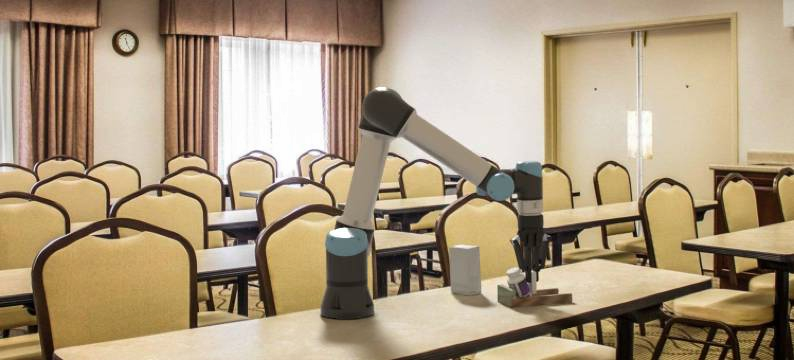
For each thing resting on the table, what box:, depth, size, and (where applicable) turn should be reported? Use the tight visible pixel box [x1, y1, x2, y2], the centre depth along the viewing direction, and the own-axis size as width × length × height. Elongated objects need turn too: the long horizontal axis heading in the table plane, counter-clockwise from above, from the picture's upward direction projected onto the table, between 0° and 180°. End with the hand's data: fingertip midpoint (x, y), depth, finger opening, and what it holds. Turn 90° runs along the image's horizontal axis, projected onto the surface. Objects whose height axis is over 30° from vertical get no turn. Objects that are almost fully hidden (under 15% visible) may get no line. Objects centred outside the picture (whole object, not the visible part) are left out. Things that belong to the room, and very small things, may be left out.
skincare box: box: [448, 244, 482, 296], centre depth 279 cm, size 8×6×15 cm
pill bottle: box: [506, 266, 532, 298], centre depth 265 cm, size 5×5×10 cm
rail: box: [497, 284, 573, 308], centre depth 267 cm, size 20×9×5 cm, turn 110°
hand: (532, 293), depth 266 cm, fingers closed
